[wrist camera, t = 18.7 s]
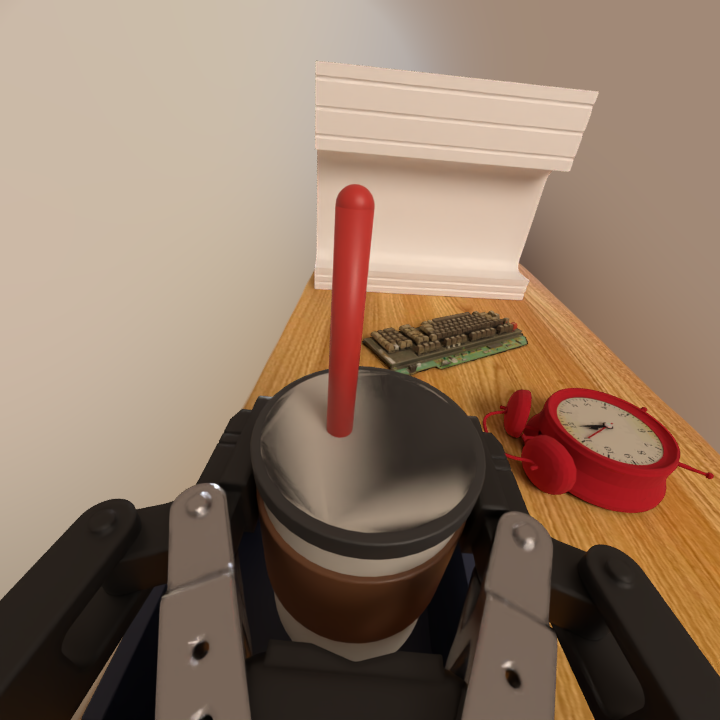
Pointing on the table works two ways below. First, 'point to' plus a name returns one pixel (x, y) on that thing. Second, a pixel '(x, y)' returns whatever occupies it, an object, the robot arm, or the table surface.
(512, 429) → the alarm clock
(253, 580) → the bin
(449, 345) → the keyboard
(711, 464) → the table surface
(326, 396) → the paper cup
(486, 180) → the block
